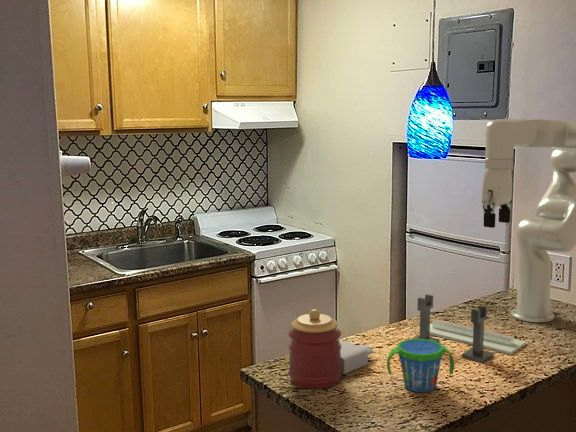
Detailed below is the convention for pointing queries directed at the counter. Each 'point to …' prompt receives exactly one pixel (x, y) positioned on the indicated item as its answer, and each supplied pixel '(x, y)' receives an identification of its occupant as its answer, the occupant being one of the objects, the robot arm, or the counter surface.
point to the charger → (354, 356)
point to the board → (486, 344)
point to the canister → (315, 351)
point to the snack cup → (420, 363)
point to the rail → (469, 332)
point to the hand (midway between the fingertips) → (496, 224)
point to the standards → (476, 318)
